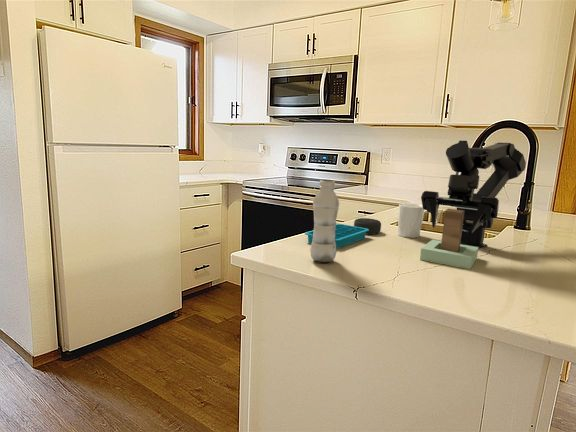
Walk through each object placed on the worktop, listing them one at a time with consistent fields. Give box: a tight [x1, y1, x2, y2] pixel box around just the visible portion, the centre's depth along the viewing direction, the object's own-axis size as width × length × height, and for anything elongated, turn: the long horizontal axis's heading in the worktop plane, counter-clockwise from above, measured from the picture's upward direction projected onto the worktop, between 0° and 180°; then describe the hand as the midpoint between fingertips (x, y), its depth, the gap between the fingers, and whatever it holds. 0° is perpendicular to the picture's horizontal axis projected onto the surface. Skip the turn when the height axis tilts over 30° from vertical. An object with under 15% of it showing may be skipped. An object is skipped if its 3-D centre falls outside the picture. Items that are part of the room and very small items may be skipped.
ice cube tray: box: [304, 223, 369, 249], centre depth 119 cm, size 12×20×3 cm, turn 142°
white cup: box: [397, 203, 425, 239], centre depth 128 cm, size 8×8×10 cm
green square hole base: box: [419, 239, 480, 270], centre depth 103 cm, size 12×12×3 cm
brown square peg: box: [441, 208, 465, 253], centre depth 102 cm, size 4×4×13 cm
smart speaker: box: [353, 217, 382, 235], centre depth 131 cm, size 9×9×4 cm
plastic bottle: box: [309, 179, 340, 263], centre depth 95 cm, size 6×7×20 cm
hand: (451, 229), depth 101 cm, fingers open, 9 cm apart
